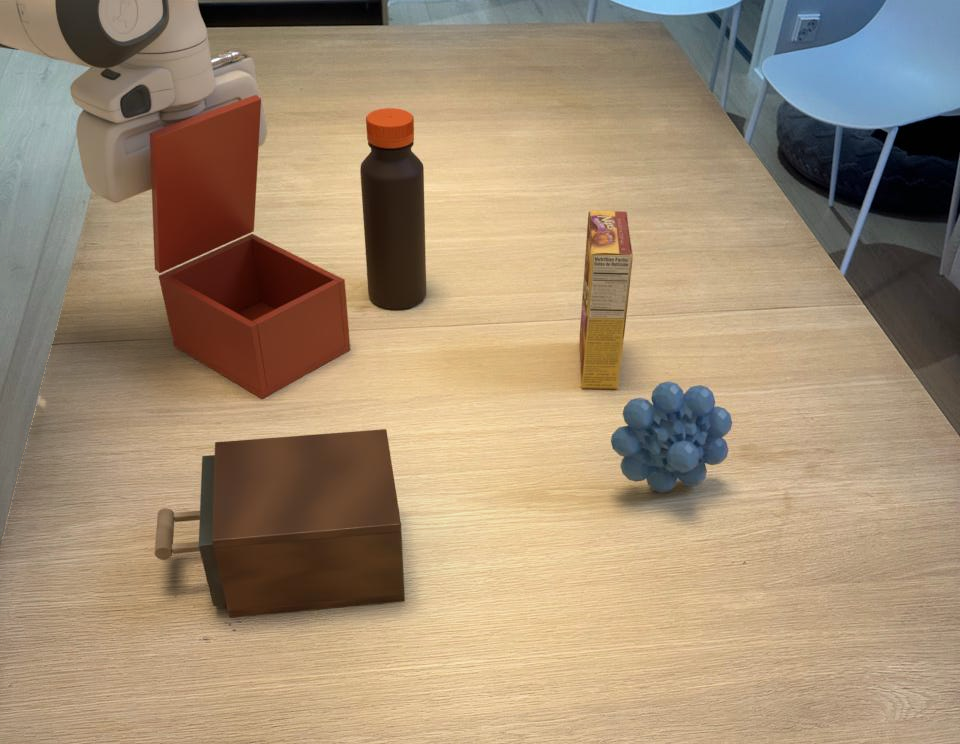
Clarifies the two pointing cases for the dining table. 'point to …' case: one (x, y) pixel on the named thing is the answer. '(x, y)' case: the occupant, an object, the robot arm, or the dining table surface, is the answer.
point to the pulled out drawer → (205, 543)
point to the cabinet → (307, 523)
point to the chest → (256, 314)
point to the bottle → (393, 211)
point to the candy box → (604, 298)
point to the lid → (204, 181)
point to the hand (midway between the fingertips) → (192, 213)
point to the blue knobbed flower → (672, 436)
